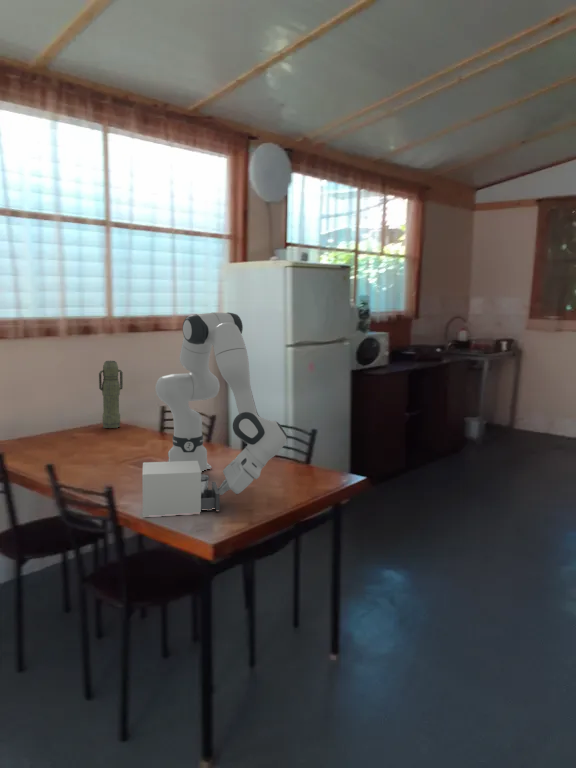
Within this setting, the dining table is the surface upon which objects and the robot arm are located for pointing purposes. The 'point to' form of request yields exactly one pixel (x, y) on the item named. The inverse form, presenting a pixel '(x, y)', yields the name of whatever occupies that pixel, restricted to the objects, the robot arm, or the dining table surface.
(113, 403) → the thermos
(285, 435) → the robot arm
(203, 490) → the canister
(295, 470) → the dining table surface
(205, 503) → the grey drawer
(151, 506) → the grey box
